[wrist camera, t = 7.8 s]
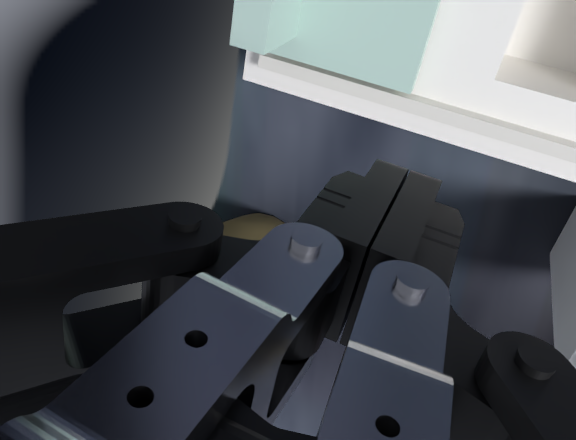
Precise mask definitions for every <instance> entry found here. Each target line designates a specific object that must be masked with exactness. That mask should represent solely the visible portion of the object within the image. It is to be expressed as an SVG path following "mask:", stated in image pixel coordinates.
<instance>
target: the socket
mask: <svg viewBox="0 0 576 440" xmlns="http://www.w3.org/2000/svg"><path fill="white" fill-rule="evenodd" d="M243 79H244V80H247V81H250V82H253V83H257V84H260V85H263V86H266V87H270V88H273V89H276V90H279V91H282V92H286V93H289V94H292V95H295V96H299V97H302V98H305V99H308V100H312V101H315V102H318V103H321V104H324V105H328V106H331V107H334V108H337V109H341V110H344V111H347V112H350V113H353V114H357V115H360V116H363V117H366V118H370V119H373V120H376V121H379V122H382V123H386V124H389V125H392V126H395V127H399V128H402V129H405V130H408V131H411V132H415V133H418V134H421V135H424V136H428V137H431V138H434V139H437V140H440V141H444V142H447V143H450V144H453V145H457V146H460V147H463V148H466V149H469V150H473V151H476V152H479V153H482V154H486V155H489V156H492V157H495V158H498V159H502V160H505V161H508V162H511V163H515V164H518V165H521V166H524V167H528V168H531V169H534V170H537V171H540V172H544V173H547V174H550V175H553V176H557V177H560V178H563V179H566V180H569V181H573V182H576V0H441V2H440V6H439V9H438V12H437V15H436V18H435V22H434V25H433V28H432V31H431V35H430V38H429V41H428V44H427V47H426V51H425V54H424V57H423V60H422V63H421V67H420V70H419V73H418V76H417V80H416V83H415V86H414V89H413V91H412V92H411V94H407V93H403V92H400V91H397V90H393V89H390V88H387V87H383V86H380V85H376V84H373V83H370V82H366V81H363V80H359V79H356V78H353V77H349V76H346V75H343V74H339V73H336V72H332V71H329V70H326V69H322V68H319V67H315V66H312V65H309V64H305V63H302V62H299V61H295V60H292V59H288V58H285V57H282V56H278V55H275V54H271V53H267V54H265V55H262V54H258V53H255V52H252V51H248V50H246V58H245V66H244V74H243Z"/></svg>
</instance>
